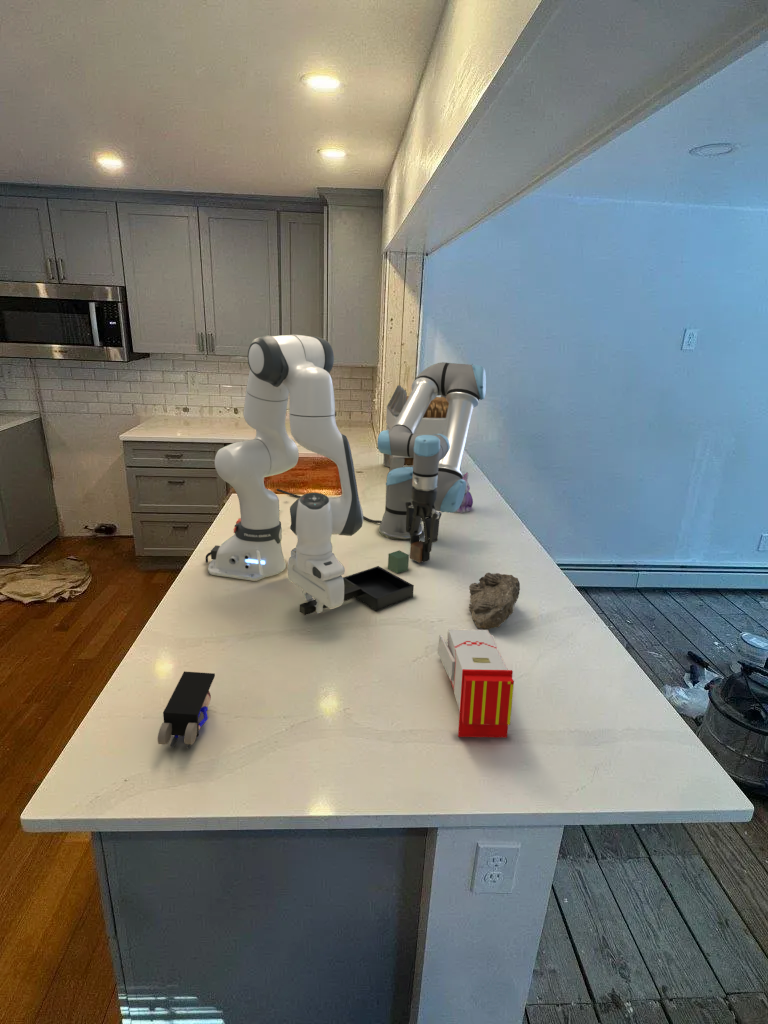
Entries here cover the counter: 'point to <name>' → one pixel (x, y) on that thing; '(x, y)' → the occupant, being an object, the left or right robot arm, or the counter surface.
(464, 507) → the figurine
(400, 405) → the transformer
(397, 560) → the green block
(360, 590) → the pan
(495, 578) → the fossil
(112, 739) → the counter surface
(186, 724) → the figurine character
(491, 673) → the toy
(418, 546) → the walnut block
